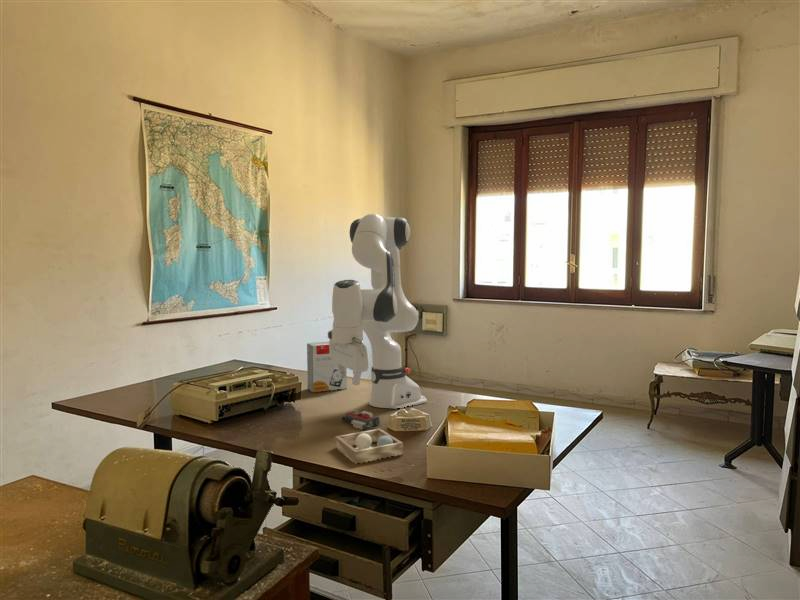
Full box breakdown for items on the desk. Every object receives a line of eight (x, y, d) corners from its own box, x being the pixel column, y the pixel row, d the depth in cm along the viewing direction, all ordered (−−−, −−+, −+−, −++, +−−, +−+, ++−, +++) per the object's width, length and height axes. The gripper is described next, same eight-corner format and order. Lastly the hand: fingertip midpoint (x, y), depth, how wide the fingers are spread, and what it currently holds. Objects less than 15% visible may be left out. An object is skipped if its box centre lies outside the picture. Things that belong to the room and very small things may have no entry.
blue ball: (388, 447, 169) (388, 432, 168) (396, 453, 165) (396, 437, 164) (374, 450, 167) (374, 435, 166) (381, 455, 162) (381, 439, 162)
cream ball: (367, 446, 170) (367, 430, 170) (374, 450, 166) (374, 434, 166) (353, 448, 168) (352, 433, 168) (359, 453, 164) (359, 436, 163)
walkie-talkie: (336, 423, 194) (379, 436, 181) (336, 411, 194) (379, 422, 180) (354, 418, 201) (397, 429, 187) (354, 405, 200) (397, 416, 187)
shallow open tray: (380, 439, 177) (380, 428, 176) (403, 454, 163) (402, 442, 163) (335, 447, 170) (335, 436, 169) (355, 464, 156) (355, 452, 156)
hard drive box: (312, 393, 234) (310, 345, 232) (307, 389, 241) (306, 342, 239) (347, 389, 240) (346, 342, 239) (341, 385, 247) (340, 340, 246)
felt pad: (369, 445, 171) (369, 444, 171) (377, 452, 166) (377, 451, 166) (350, 449, 168) (350, 448, 168) (358, 455, 163) (358, 454, 163)
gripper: (373, 339, 159) (374, 387, 161) (344, 330, 177) (345, 373, 178) (352, 341, 156) (354, 390, 157) (325, 331, 174) (326, 375, 175)
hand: (349, 381), depth 168 cm, fingers open, 8 cm apart
